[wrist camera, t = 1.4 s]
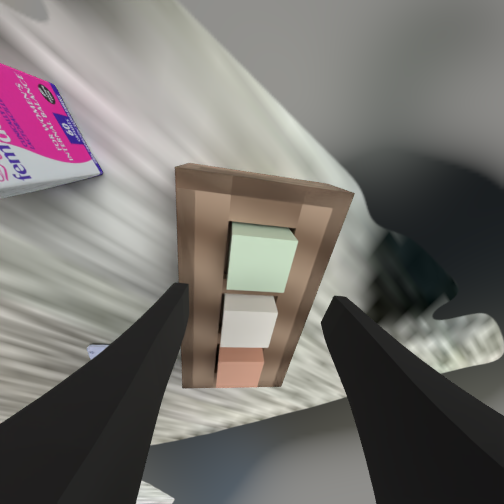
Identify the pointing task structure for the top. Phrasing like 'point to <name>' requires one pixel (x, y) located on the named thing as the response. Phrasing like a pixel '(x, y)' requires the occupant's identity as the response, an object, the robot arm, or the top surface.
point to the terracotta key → (239, 367)
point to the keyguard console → (217, 250)
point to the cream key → (248, 320)
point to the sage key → (259, 257)
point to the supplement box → (38, 137)
